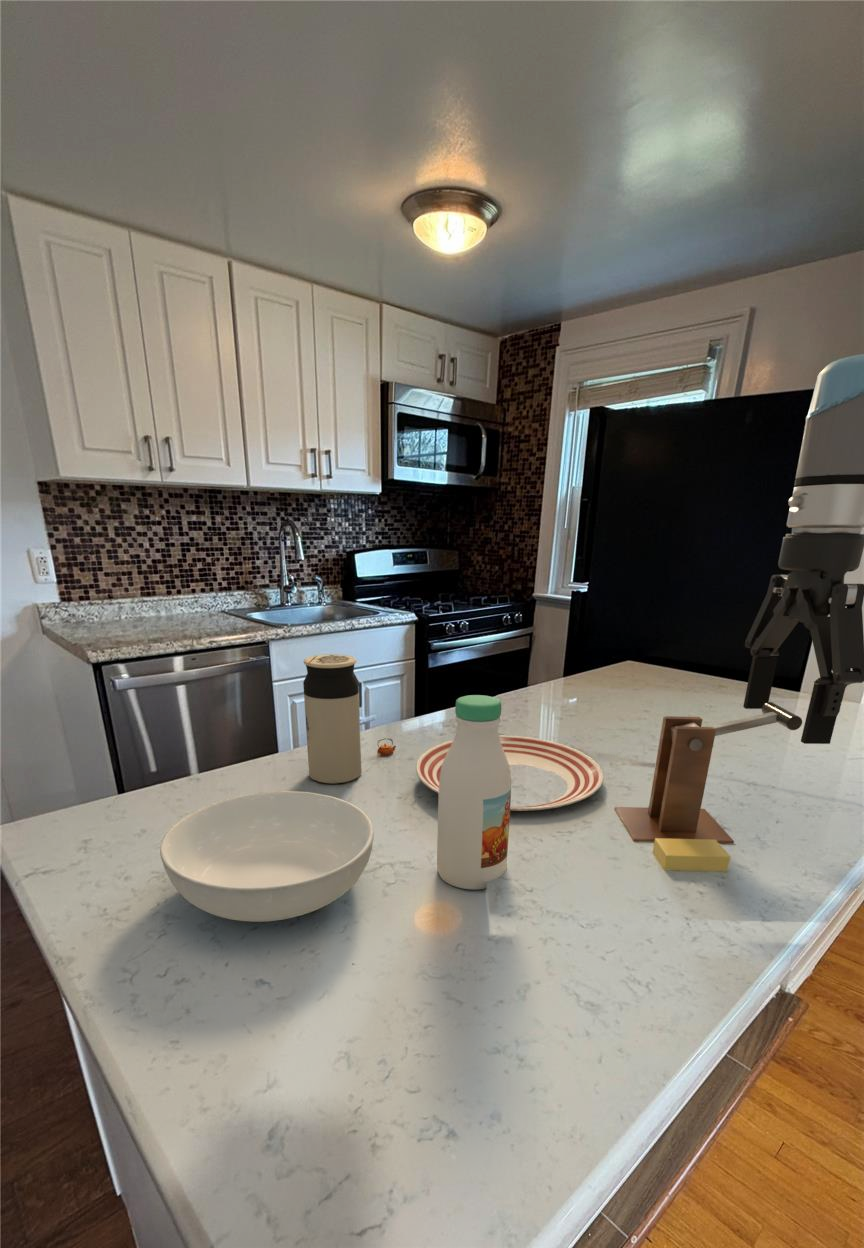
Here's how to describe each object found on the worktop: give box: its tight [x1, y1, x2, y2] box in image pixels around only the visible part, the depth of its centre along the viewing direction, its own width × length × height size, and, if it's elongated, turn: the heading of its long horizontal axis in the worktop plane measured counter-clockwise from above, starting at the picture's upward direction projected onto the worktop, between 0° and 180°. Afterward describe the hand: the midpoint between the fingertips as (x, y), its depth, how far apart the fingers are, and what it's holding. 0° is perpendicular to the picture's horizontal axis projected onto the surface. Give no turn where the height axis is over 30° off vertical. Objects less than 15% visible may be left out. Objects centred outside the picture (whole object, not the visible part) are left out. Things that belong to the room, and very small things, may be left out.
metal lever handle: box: [671, 701, 803, 742], centre depth 72 cm, size 13×6×2 cm, turn 89°
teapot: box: [376, 738, 397, 757], centre depth 103 cm, size 3×3×3 cm
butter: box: [652, 838, 731, 872], centre depth 69 cm, size 7×4×3 cm, turn 89°
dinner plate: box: [415, 734, 604, 812], centre depth 91 cm, size 28×27×3 cm
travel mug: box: [302, 653, 362, 785], centre depth 91 cm, size 8×8×18 cm
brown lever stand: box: [613, 715, 735, 844], centre depth 75 cm, size 12×9×15 cm
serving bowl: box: [159, 790, 375, 923], centre depth 63 cm, size 21×21×7 cm
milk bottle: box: [436, 694, 512, 890], centre depth 64 cm, size 8×8×20 cm
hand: (782, 724), depth 72 cm, fingers open, 13 cm apart
